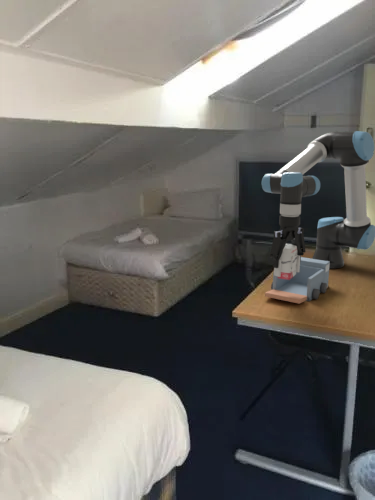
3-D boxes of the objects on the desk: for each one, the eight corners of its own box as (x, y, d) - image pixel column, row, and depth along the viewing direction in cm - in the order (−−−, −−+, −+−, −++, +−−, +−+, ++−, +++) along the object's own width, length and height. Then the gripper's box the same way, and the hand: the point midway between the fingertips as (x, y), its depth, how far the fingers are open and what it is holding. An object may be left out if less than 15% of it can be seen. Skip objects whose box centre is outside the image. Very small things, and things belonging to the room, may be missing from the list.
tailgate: (273, 289, 187) (264, 292, 181) (307, 295, 179) (299, 299, 173) (272, 293, 188) (264, 297, 181) (306, 300, 180) (299, 304, 174)
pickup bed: (289, 279, 207) (290, 255, 204) (331, 287, 196) (333, 262, 194) (268, 293, 190) (269, 266, 187) (313, 302, 180) (315, 274, 177)
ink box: (289, 280, 173) (291, 249, 171) (276, 278, 176) (278, 247, 173) (296, 274, 181) (298, 244, 178) (284, 272, 183) (285, 243, 180)
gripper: (302, 210, 182) (299, 266, 187) (260, 216, 169) (258, 276, 175) (318, 213, 176) (314, 271, 181) (275, 219, 163) (273, 281, 169)
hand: (286, 273), depth 178 cm, fingers closed on ink box, 9 cm apart
